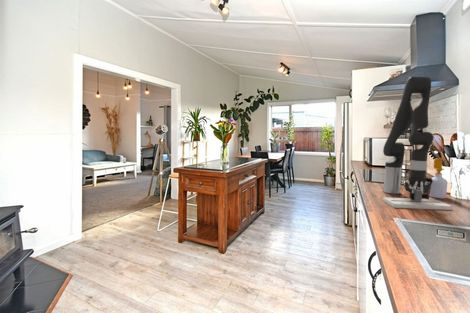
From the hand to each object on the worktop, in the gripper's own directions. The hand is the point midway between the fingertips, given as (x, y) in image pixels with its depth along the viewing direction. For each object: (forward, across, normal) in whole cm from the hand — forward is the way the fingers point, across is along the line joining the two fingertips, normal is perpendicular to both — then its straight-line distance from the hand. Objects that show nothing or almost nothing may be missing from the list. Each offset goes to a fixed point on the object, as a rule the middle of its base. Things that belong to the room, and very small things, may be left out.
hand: (415, 199), depth 137 cm
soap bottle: (+3, -24, -21) cm, 32 cm away
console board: (+3, 0, 0) cm, 3 cm away
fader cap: (+1, 0, 0) cm, 1 cm away
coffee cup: (+3, -12, -15) cm, 19 cm away
